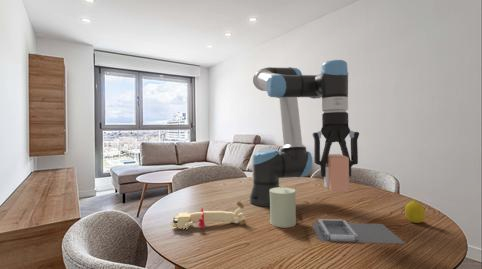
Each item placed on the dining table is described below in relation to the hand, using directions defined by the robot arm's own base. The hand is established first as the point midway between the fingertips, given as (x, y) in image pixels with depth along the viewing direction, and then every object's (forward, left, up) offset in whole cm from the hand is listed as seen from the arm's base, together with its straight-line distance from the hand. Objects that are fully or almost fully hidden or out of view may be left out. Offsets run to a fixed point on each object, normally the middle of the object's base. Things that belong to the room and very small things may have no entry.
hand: (335, 186), depth 76 cm
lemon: (+28, +9, -15) cm, 33 cm away
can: (-16, +8, -15) cm, 23 cm away
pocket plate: (+5, 0, -15) cm, 16 cm away
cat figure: (-42, +5, -15) cm, 45 cm away
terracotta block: (0, 0, 0) cm, 0 cm away
